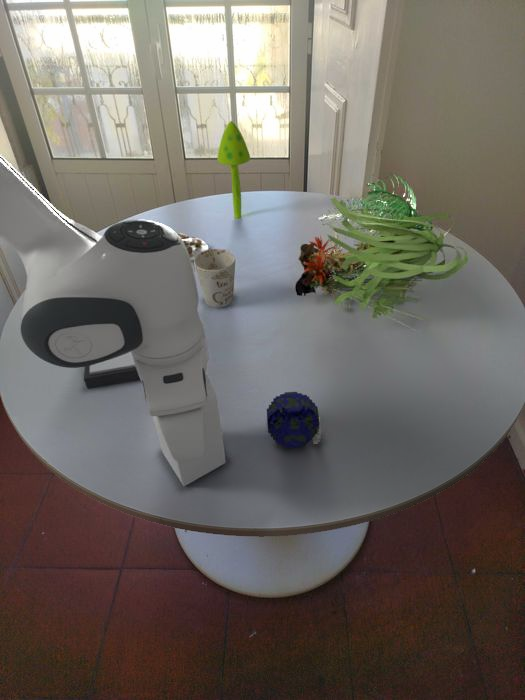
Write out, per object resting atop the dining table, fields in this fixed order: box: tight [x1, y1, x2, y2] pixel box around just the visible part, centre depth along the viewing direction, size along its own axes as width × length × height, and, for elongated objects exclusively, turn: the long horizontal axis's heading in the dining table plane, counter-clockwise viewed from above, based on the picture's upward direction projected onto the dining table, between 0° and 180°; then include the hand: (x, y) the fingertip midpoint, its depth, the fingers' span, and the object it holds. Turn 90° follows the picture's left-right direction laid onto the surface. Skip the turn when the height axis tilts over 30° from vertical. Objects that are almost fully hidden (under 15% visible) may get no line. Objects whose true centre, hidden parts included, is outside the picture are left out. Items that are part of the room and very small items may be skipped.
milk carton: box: [152, 373, 227, 487], centre depth 65 cm, size 7×7×19 cm
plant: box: [294, 173, 469, 332], centre depth 91 cm, size 30×30×35 cm
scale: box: [83, 352, 141, 389], centre depth 86 cm, size 13×11×3 cm
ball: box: [266, 391, 322, 449], centre depth 71 cm, size 8×8×8 cm
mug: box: [193, 248, 236, 309], centre depth 99 cm, size 8×13×10 cm, turn 16°
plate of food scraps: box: [177, 232, 210, 261], centre depth 116 cm, size 12×12×4 cm
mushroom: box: [216, 120, 251, 220], centre depth 121 cm, size 8×8×25 cm
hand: (188, 423), depth 66 cm, fingers closed on milk carton, 8 cm apart
